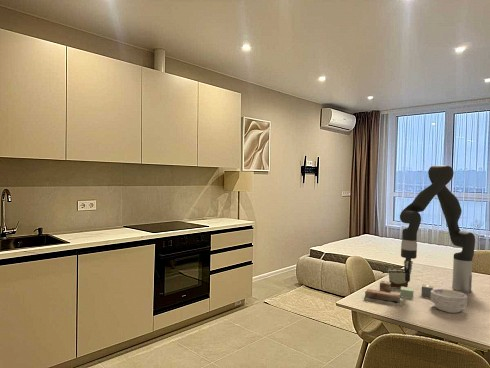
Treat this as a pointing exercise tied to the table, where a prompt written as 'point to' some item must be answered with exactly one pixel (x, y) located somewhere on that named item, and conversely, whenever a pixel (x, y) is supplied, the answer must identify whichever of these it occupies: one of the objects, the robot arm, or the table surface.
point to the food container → (397, 277)
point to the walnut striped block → (385, 286)
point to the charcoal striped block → (426, 290)
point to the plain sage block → (406, 292)
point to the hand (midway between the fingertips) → (407, 281)
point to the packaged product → (383, 297)
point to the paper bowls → (448, 300)
